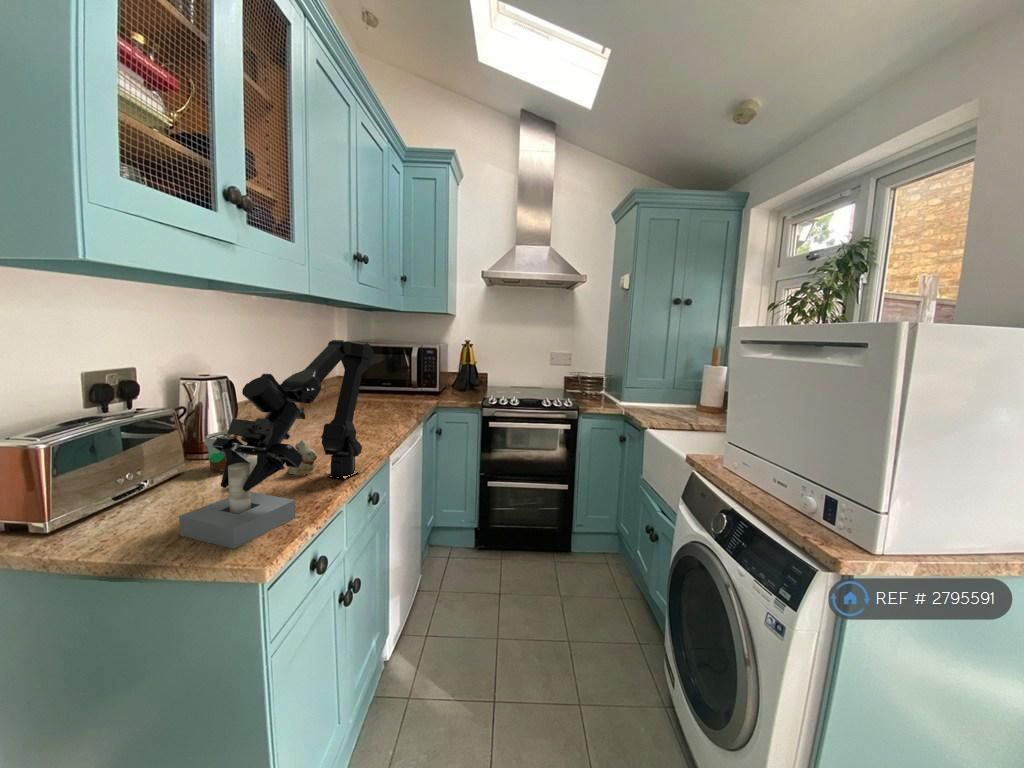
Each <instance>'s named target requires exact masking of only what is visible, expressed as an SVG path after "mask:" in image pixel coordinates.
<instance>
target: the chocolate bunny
mask: <svg viewBox="0 0 1024 768" xmlns="http://www.w3.org/2000/svg"><path fill="white" fill-rule="evenodd" d="M294 448H295V449H296V450H297V451H298V452H299V453H301V454H302V462H301V464H300V466H299V467H298V468H293V467H287V470H286V471H287V473H288V474H289V475H290V474H295V475H294V476H299V475H302V476H305V475H304V474H311V475H313V474H315V470H314V468H315V466H316V464H315V461H316V460H317V458H318V456H317V452H316V450H314V449H313V448H311V447H310V445H309V443H308V442H307V441H306V440H304V439H301V440H300V441H299V442H298V443H297V442H296V444H295V447H294ZM312 473H313V474H312Z"/></svg>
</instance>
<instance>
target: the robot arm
mask: <svg viewBox="0 0 1024 768" xmlns="http://www.w3.org/2000/svg"><path fill="white" fill-rule="evenodd" d="M374 352H375V351H374V349H373V347H372V345H370V344H369V343H367V342H351V341H348V340H346V339H345V340H344V339H333V340H330V341H329V342H328V344H327V346H325V348H324V349H323V350H322V351H321V352H320V353H319V354H318V355H317V356H316V357H315V358H314V359H313V360H312V362H310V363H309V365H308V366H307V367H305V369H303V370H301V371H298V372H295V373H293V374H292V375H289V377H287V378H285V379H284V380H283V381H282V383H279V382H278V381H277V380H276V378H275V377H274V375H273V374H272V373H261V376H259V377H257V378H256V377H255V378H254V379H252V380H251V381H249V382H247V383H246V384H245V385H244V386H243V388H242V392H241V393H242V395H243V397H245V398H246V399H247V400H248V401H249V402H250V403H251V404H252V405H253V406H254V407H256V409H257V410H258V411H260V412H261V413H264V414H265V413H266V415H265V416H264V417H263V418H260V417H257V418H256V419H255V421H253V420H248V419H240V418H239V419H238V418H232V419H231V422H230V424H229V427H228V430H227V435H229V436H230V435H235V436H238V437H240V440H241V441H243V442H244V443H246V444H244V443H243V442H241V441H240V440H239V439H238V438H236V437H232V436H230V437H219V438H217V439H216V441H215V442H214V443H213V444H212V447H214V448H215V449H216V450H218V451H219V452H221V453H222V454H223V455H225V456H226V466H225V470H224V473H222V474H223V475H222V478H221V482H220V487H221V488H223V489H226V488H227V487H229V479H228V466H229V465H232V464H236V463H249V462H248V461H247V460H245V458H246V457H248V456H257V464H256V466H255V467H254V469H253V471H252V472H251V474H250V476H249V477H248V479H247V480H246V482H245V484H244V486H243V490H244V491H248V490H250V491H251V489H253V488H254V487H256V486H258V485H260V484H261V483H260V482H262V483H263V481H264V480H265V479H268V478H269V477H270V476H273V475H274V474H276V473H277V472H279V471H281V470H282V471H283V470H285V468H286V467H287V468H289V467H293V468H298V467H299V466H300V464H301V462H302V454H301V453H299V452H298V451H297V449H296V447H294V445H292V444H289V443H282V442H283V440H286V441H287V440H289V438H290V437H291V435H290V434H289V433H288V432H289V431H290V430H291V428H292V427H293V425H294V423H295V422H296V420H297V419H298V420H306V413H305V411H304V410H305V409H304V407H299V406H298V405H297V404H305V405H306V404H309V405H310V404H312V403H313V402H314V401H315V400H316V398H317V397H318V396H319V394H320V392H321V391H322V382H323V381H324V380H325V379H326V378H327V376H329V374H330V373H331V372H332V371H333V370H334V368H335V367H337V365H338V364H339V363H340V362H341V363H342V366H343V368H344V372H343V377H342V382H341V386H340V389H339V394H338V400H337V403H336V408H335V412H334V417H333V419H332V420H331V421H330V422H329V423H327V422H326V423H325V424H324V425H323V429H322V430H323V431H322V434H321V436H320V438H321V445H322V447H323V451H324V453H325V455H326V456H327V455H329V456H330V472H329V473H327V474H326V477H327V476H332V477H339V478H343V476H348V475H350V476H351V474H353V473H354V471H355V470H356V457H359V456H360V455H361V454H362V449H363V445H361V443H360V442H359V441H358V440H357V429H356V427H355V425H354V416H355V411H356V406H357V401H358V396H359V392H360V387H361V382H362V377H363V374H364V373H365V371H367V370H368V368H369V367H370V366H371V363H372V360H373V357H374ZM249 464H250V463H249ZM284 465H285V466H286V467H285V466H284ZM358 471H359V472H360V470H358ZM357 473H358V472H357ZM358 474H359V473H358ZM332 477H331V478H332ZM348 477H349V476H348ZM259 483H260V484H259Z"/></svg>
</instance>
